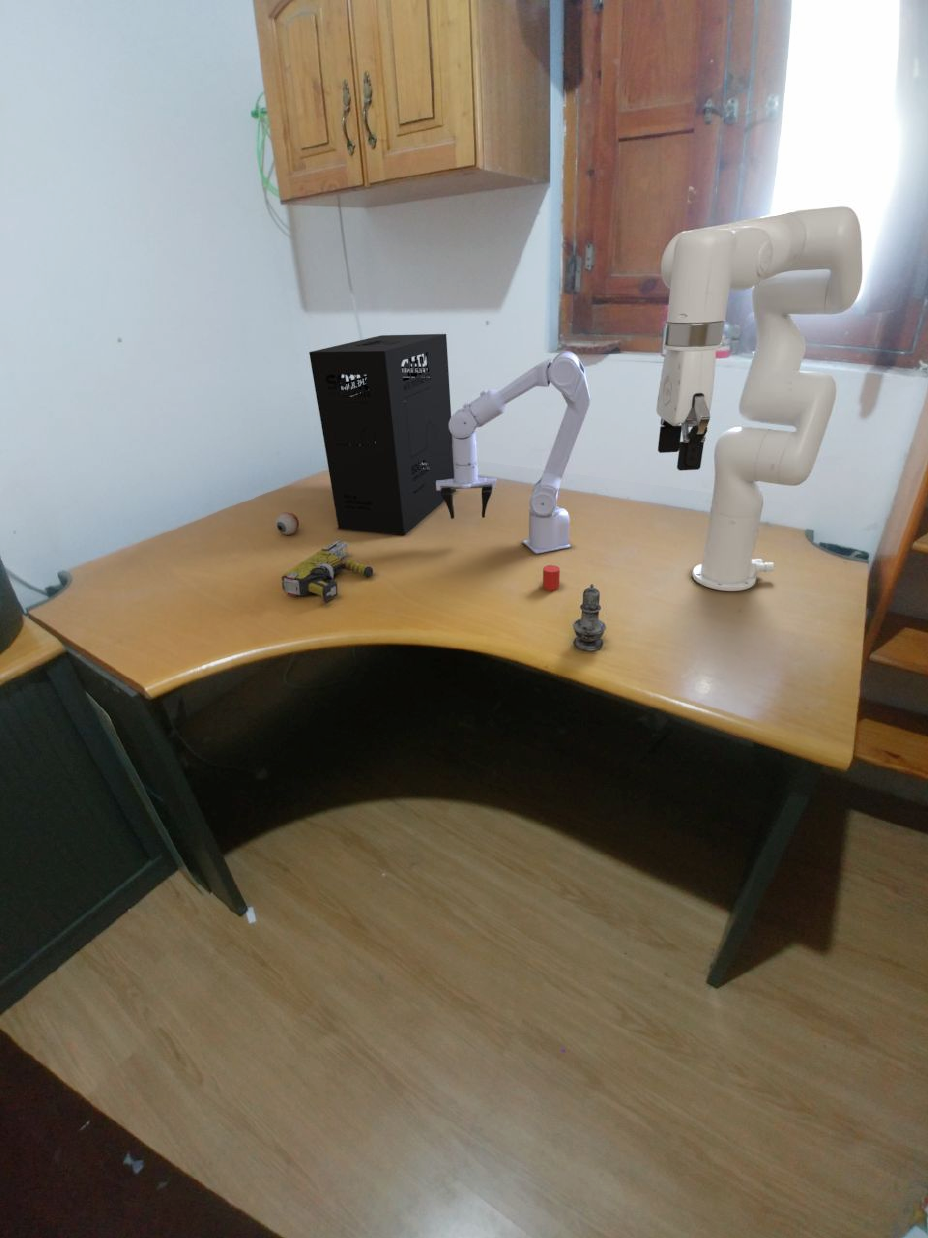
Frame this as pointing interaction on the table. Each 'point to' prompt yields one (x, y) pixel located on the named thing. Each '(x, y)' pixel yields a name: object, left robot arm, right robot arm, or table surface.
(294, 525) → the eyeball
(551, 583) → the canister
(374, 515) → the cardboard box
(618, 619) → the table surface
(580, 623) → the grey tiered stone figure
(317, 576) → the toy gun
